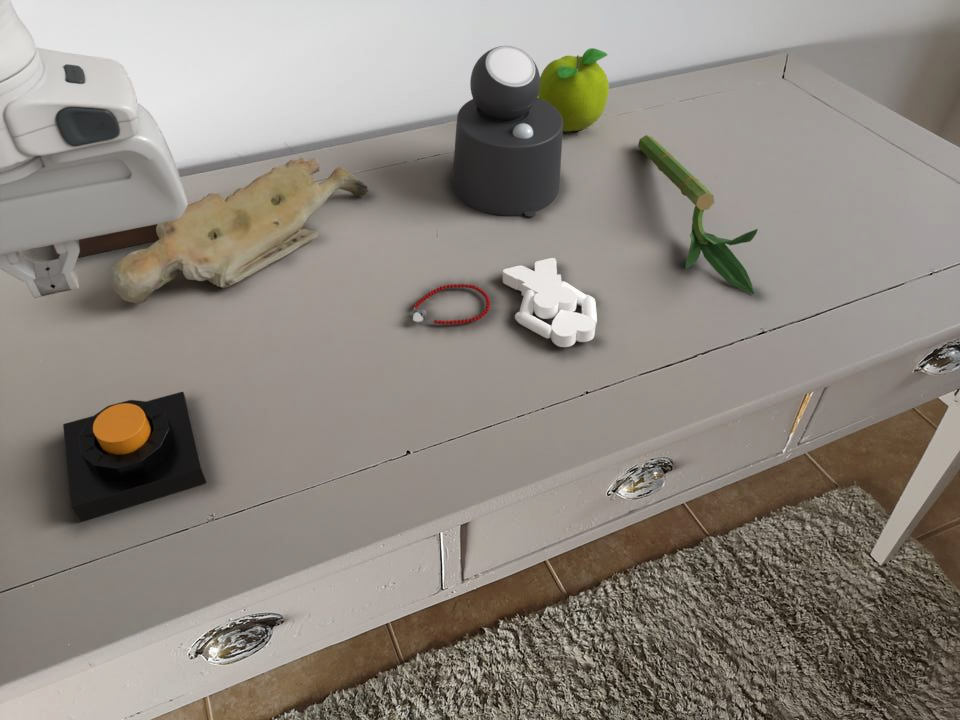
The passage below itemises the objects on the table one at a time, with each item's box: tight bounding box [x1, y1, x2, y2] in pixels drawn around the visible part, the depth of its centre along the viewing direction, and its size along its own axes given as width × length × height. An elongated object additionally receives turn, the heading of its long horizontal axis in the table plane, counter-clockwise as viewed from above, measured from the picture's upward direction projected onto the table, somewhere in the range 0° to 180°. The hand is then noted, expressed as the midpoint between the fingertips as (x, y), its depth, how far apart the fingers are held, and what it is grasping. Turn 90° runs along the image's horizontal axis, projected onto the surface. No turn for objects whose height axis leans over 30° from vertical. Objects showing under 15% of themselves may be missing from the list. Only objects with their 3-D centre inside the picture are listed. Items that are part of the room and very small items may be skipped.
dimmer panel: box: [50, 224, 159, 259], centre depth 87 cm, size 11×9×3 cm
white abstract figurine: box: [502, 257, 598, 348], centre depth 81 cm, size 9×12×2 cm
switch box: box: [62, 391, 207, 523], centre depth 65 cm, size 10×9×4 cm
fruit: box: [538, 47, 610, 133], centre depth 103 cm, size 9×9×10 cm
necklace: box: [412, 283, 491, 325], centre depth 81 cm, size 9×6×1 cm
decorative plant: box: [637, 134, 758, 295], centre depth 92 cm, size 6×8×30 cm
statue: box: [109, 157, 369, 305], centre depth 84 cm, size 10×7×30 cm
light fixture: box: [451, 45, 564, 218], centre depth 91 cm, size 13×16×14 cm
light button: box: [93, 403, 151, 455], centre depth 63 cm, size 4×4×2 cm
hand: (56, 288), depth 55 cm, fingers closed
